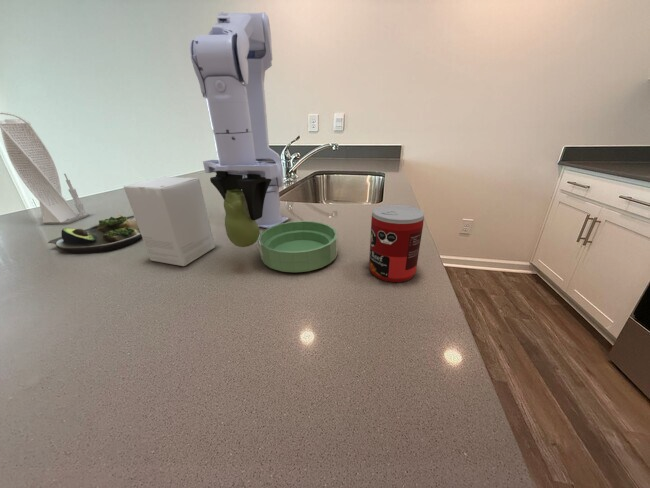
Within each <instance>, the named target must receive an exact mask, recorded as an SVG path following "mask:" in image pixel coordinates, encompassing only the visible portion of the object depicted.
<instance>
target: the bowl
mask: <svg viewBox="0 0 650 488" xmlns="http://www.w3.org/2000/svg"><path fill="white" fill-rule="evenodd" d="M257 241H258V248H259V254H260V259H261V261H262V263H263V264H264V265H265V266H267V267H268V268H270V269H272V270H276V271H279V272H284V273H303V272H304V273H305V272H311V271H314V270H315V271H316V270H319V269H322V268H324V267H325V266H328V265H330V264H331V263H332V262H333V261H335V260H336V258H337V256H338V252H339V234H338V231H337V230H336V228H335V227H333V226H331V225H329V224H326V223H324V222H320V221H315V220H296V221H295V220H294V221H288V222H287V221H286V222H283V223H281V224H278V225H275V226H272V227H270V228H268V229H267V228H265V229H264V230H263V231H262V232H261V233H259V238H258V240H257Z"/></svg>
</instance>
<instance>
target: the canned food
mask: <svg viewBox="0 0 650 488" xmlns="http://www.w3.org/2000/svg"><path fill="white" fill-rule="evenodd" d="M424 220H425V212H424V211H423V210H422V209H420V208H417V207H415V206H410V205H405V204H383V205H379V206H376V207H374V208H373V209H372V211H371V220H370V221H371V223H370V239H369V258H368V259H369V260H368V263H369V264H368V265H369V270H370V273H371V274H372V275H373V276H374V277H375V278H377V279H379V280H381V281H385V282H391V283H403V282H406V281H409V280H411V279H412V278H413V277H414V276H415V274H416V271H417V267H418V262H419V261H418V260H419V256H420V248H421V241H422V235H423V228H424V223H425V222H424Z"/></svg>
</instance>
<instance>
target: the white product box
mask: <svg viewBox="0 0 650 488" xmlns="http://www.w3.org/2000/svg"><path fill="white" fill-rule="evenodd" d="M123 189H124V192H125V194H126V198H127V200H128V202H129V203H128V204H129V205H130V208H131V211H132V213H133V216H134V219H135V221H136V222H137V224H138V227H139V230H140V233H141V235H142V237H141V238H142V241H143V244H144V246H145V248H146V251H147V254H148V258H149V260H150V261H151V262H157V263H163V264H167V265H168V264H169V265H173V266H174V265H175V266H181V267H185V266H187V265H189V264H190V263H192V262H194V261H195V260H197V259H199V258H200V257H202V256H204V255H205V254H207V253H208V252H210V251H211V250H213V249H215V248H216V245H215V239H214V235H213V232H212V227H211V223H210V219H209V214H208V211H207V206H206V202H205V198H204V194H203V189H202V185H201V180H200V178H199V177H175V176H161V177H156V178H153V179H148V180H144V181H139V182H135V183H130V184H126V185H124V186H123Z"/></svg>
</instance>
